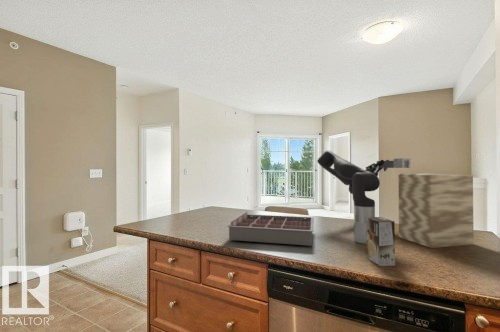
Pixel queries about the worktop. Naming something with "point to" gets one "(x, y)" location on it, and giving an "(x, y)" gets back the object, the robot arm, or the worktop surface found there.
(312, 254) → the worktop surface
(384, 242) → the coffee box
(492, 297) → the worktop surface
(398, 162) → the bar
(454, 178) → the wood grain block
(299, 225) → the organizer tray
